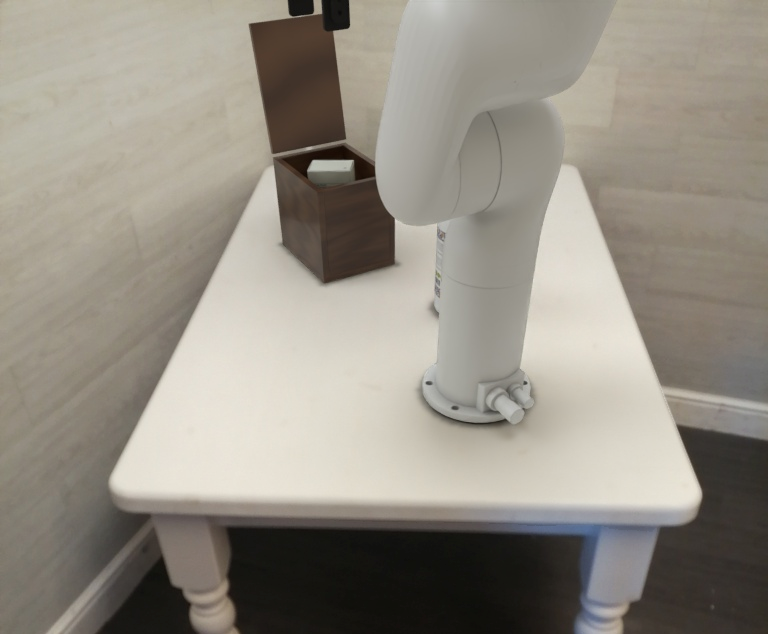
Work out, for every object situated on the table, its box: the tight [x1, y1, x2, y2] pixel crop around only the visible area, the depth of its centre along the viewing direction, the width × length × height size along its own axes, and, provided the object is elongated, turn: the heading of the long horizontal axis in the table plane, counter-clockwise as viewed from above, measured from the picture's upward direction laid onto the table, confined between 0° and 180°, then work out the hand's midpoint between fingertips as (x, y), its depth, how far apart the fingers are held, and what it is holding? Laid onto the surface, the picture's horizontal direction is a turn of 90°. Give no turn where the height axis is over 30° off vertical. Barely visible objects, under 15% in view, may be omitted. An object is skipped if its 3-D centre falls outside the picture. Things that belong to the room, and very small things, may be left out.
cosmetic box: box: [307, 160, 355, 189], centre depth 105 cm, size 6×4×12 cm
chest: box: [272, 142, 396, 284], centre depth 106 cm, size 15×12×13 cm
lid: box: [248, 13, 347, 155], centre depth 103 cm, size 16×12×5 cm
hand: (318, 22), depth 85 cm, fingers open, 9 cm apart
